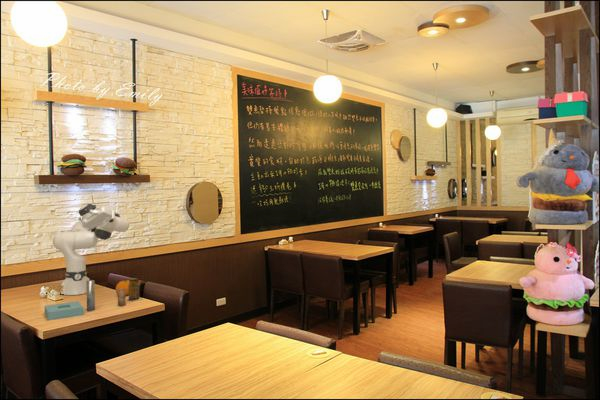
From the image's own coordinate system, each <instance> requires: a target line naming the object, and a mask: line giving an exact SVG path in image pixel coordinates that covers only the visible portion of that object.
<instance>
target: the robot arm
mask: <svg viewBox="0 0 600 400" xmlns="http://www.w3.org/2000/svg"><path fill="white" fill-rule="evenodd" d="M78 215H80V217H78V221H76V222H75V223H74V224H73V225H72V227H71V228H70V231H62V232H59V233H55V235H53V238H52V245H53V247H54V248H55V249H56V250H58V251H60V252H61V253H62V255H63V257H64V259H65V266H66V267H65V269H66V270H65V273H64V274H65V279H64V280H63V281H62V282H61V283H60V284H61V287H62V288H61V289H60V292H62V293H63V294H64V295H63V296H78V295H84V294H87V292H86V281H88V280H90V278H89V277H88V276H87V274H88V273H87V268H86V267H87V266H86V263H87V261H86V257H85V256H84V255H82V254H80V253H78V252H77V251H76V250H84V249H85V250H87V249H90V248H95V247H96V245H98V243H99V239H100V240H103V241H106V240H109V239H111V237H112V234H113V231H114V232H119V233H120V232H121V233H126V232H127V231H128V229H129V226H130V221H129V220H127V219H125V218H123V217H121V215H120V214H119V213H118V212H116V211H115V210H114V209H113V208H112V207H111V206H109V205H107V204H103V205H100V206H99V207H97V205H96V204H92V203H87V204H84V205H82V206H81V207H80V209H78ZM60 292H59V293H60Z"/></svg>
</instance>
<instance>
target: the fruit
mask: <svg viewBox="0 0 600 400" xmlns="http://www.w3.org/2000/svg"><path fill="white" fill-rule="evenodd" d="M118 289H125V297H127V296H129V279H128V280H127V279H126V278H125V280H122V281H119V282H118V283H117V284H116V286H115V292H116V294H117V295H118Z"/></svg>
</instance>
